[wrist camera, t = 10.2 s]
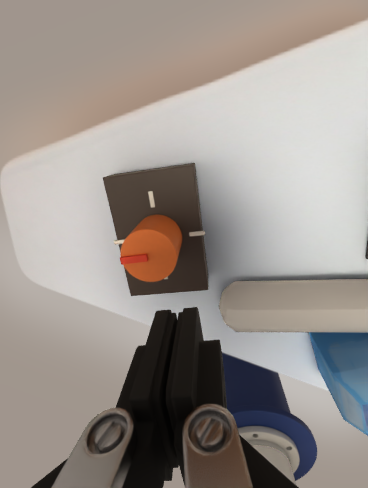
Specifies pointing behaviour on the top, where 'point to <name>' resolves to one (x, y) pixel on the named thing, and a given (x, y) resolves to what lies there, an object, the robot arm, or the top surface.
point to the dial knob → (152, 248)
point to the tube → (296, 306)
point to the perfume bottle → (345, 372)
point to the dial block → (168, 204)
